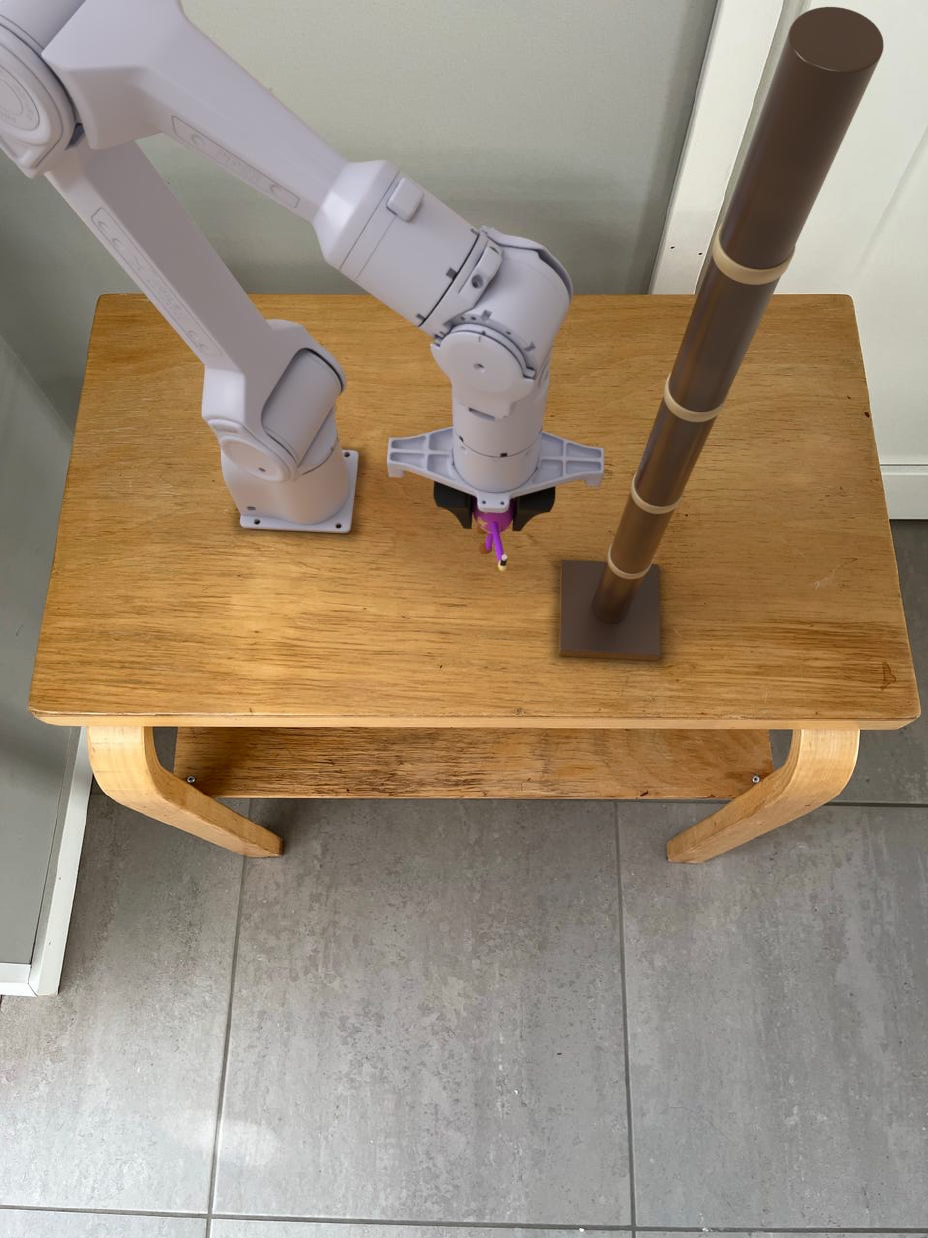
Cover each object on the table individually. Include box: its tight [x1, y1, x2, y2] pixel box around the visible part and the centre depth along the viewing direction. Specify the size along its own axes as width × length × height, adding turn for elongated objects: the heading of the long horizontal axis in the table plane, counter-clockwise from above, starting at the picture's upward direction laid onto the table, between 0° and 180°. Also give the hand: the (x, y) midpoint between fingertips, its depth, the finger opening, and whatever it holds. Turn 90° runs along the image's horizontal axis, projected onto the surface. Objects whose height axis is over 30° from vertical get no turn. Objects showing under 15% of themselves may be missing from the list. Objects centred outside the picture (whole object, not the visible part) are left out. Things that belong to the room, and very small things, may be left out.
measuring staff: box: [558, 6, 885, 662], centre depth 52 cm, size 8×8×50 cm
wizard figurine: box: [472, 495, 515, 573], centre depth 68 cm, size 11×3×12 cm, turn 9°
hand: (492, 518), depth 70 cm, fingers closed on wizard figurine, 3 cm apart
